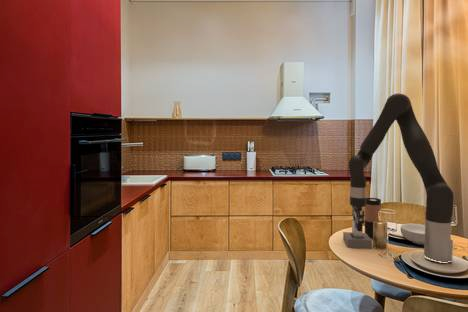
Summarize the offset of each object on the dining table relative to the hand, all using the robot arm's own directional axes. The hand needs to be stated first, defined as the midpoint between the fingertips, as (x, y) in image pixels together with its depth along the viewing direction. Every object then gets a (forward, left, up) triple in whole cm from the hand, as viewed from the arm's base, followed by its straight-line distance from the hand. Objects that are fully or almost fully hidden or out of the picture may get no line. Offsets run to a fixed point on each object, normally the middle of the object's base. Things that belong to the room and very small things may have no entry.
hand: (357, 228), depth 148 cm
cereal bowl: (-31, -8, -8) cm, 33 cm away
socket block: (0, 0, -8) cm, 8 cm away
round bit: (-10, +2, -8) cm, 13 cm away
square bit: (0, 0, -8) cm, 8 cm away
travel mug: (-10, -13, -8) cm, 18 cm away
